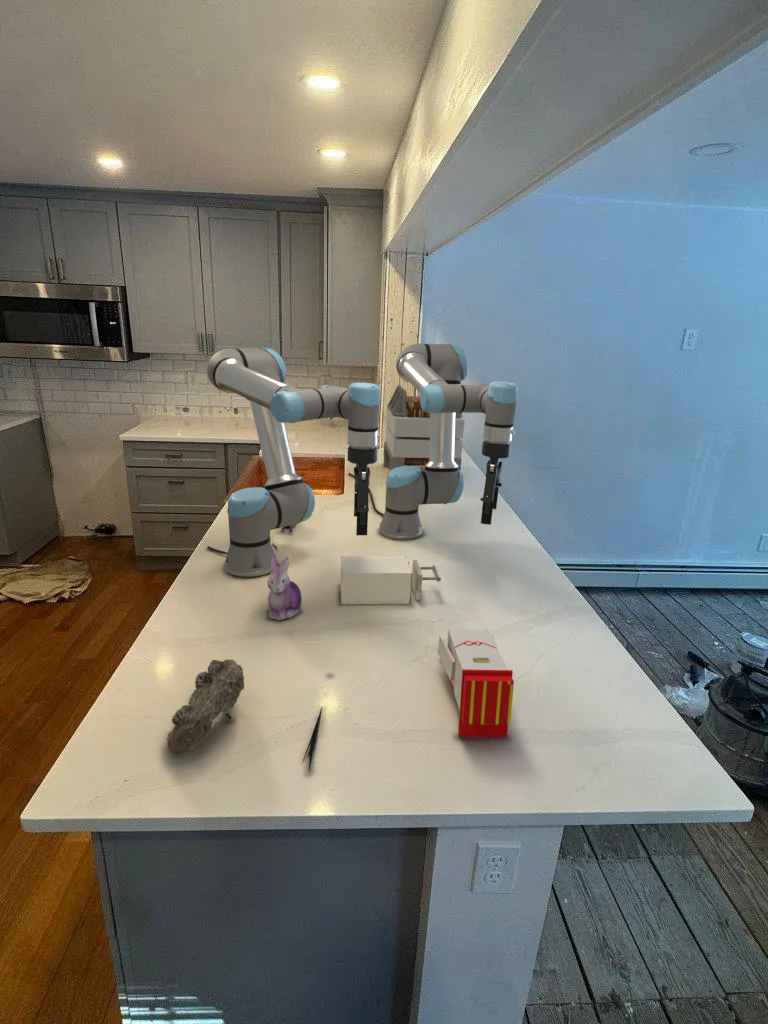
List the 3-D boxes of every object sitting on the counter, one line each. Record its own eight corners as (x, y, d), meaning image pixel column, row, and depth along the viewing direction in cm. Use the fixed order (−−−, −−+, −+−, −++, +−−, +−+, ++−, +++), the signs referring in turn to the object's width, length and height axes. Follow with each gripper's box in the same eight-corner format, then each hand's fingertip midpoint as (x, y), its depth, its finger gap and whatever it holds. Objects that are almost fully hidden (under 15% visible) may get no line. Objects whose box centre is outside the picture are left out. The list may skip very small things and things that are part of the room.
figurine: (272, 625, 139) (271, 570, 134) (261, 606, 148) (259, 553, 143) (309, 617, 144) (308, 563, 139) (295, 599, 152) (295, 548, 147)
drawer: (433, 583, 163) (435, 559, 160) (440, 599, 154) (442, 575, 151) (355, 583, 161) (356, 559, 158) (357, 600, 152) (357, 575, 149)
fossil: (192, 660, 117) (244, 628, 112) (224, 691, 120) (276, 661, 115) (142, 746, 98) (202, 712, 93) (182, 779, 101) (242, 748, 96)
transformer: (382, 463, 289) (386, 382, 275) (445, 464, 293) (451, 384, 279) (390, 482, 257) (394, 392, 243) (460, 483, 261) (468, 394, 247)
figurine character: (295, 538, 195) (300, 518, 208) (295, 519, 192) (300, 500, 205) (276, 538, 195) (282, 518, 208) (275, 518, 191) (281, 499, 205)
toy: (488, 613, 130) (523, 677, 101) (484, 667, 133) (517, 744, 104) (435, 612, 130) (455, 676, 101) (432, 666, 133) (451, 743, 103)
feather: (331, 679, 122) (336, 673, 122) (307, 777, 96) (313, 769, 95) (324, 675, 122) (329, 669, 121) (298, 772, 95) (304, 764, 95)
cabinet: (404, 585, 163) (406, 556, 160) (409, 603, 153) (411, 573, 150) (340, 585, 161) (341, 555, 158) (341, 604, 151) (341, 573, 148)
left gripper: (382, 459, 131) (378, 543, 138) (373, 435, 154) (371, 509, 162) (349, 458, 130) (347, 543, 137) (346, 435, 154) (344, 509, 161)
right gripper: (507, 453, 139) (497, 533, 146) (514, 434, 162) (506, 504, 169) (476, 449, 141) (468, 528, 148) (488, 431, 164) (481, 500, 171)
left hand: (360, 525), depth 149 cm, fingers open, 13 cm apart
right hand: (488, 515), depth 159 cm, fingers open, 13 cm apart
